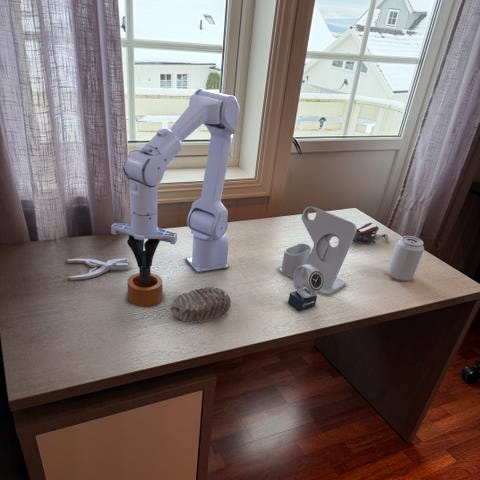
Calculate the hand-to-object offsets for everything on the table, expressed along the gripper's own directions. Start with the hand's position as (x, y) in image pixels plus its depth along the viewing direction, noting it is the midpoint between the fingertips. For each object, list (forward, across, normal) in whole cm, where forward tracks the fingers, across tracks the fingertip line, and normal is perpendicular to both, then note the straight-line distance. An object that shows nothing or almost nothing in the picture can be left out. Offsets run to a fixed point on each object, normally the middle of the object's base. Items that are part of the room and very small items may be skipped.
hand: (144, 266), depth 104 cm
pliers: (+9, -16, +9) cm, 20 cm away
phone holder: (+9, +41, +24) cm, 48 cm away
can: (+9, +67, +34) cm, 76 cm away
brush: (+4, 0, 0) cm, 4 cm away
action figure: (+9, +57, +56) cm, 80 cm away
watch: (+9, +38, +9) cm, 40 cm away
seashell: (+9, +14, -3) cm, 17 cm away
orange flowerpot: (+9, 0, 0) cm, 9 cm away
